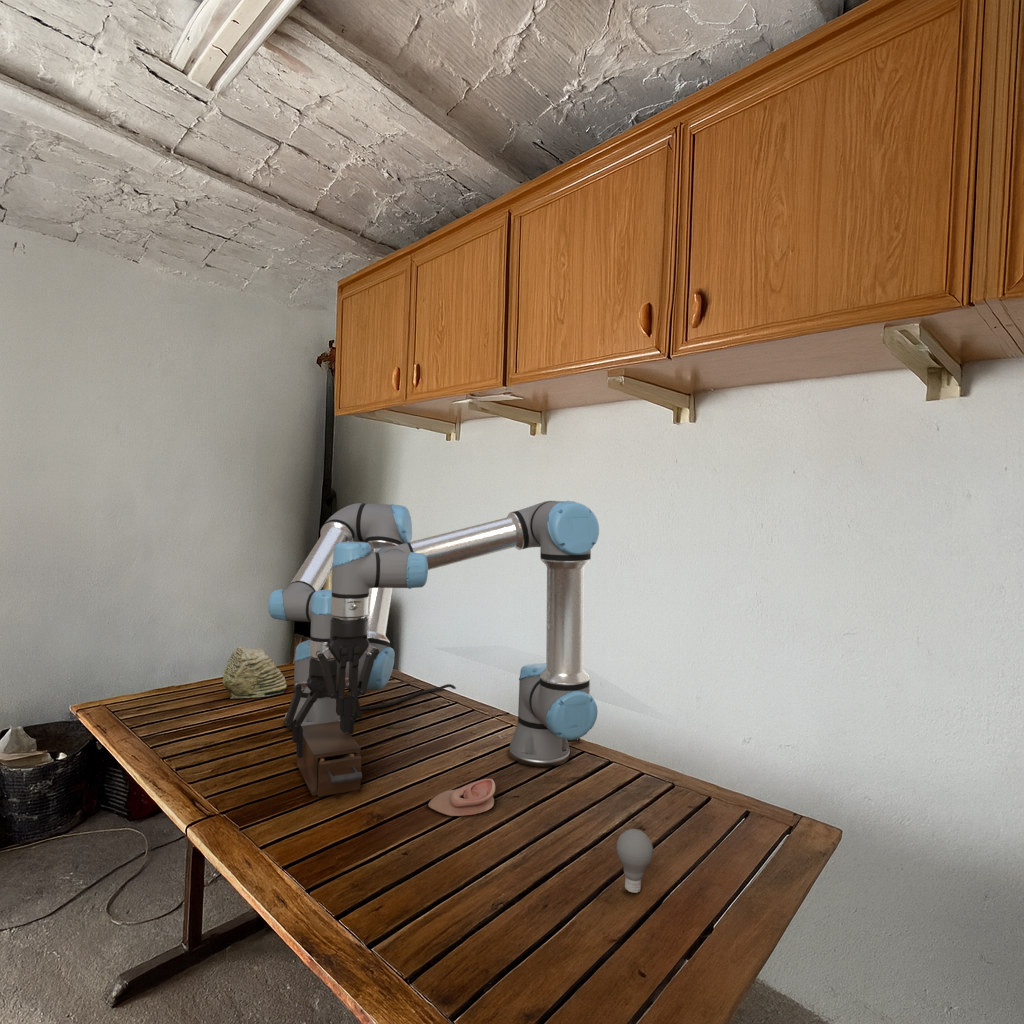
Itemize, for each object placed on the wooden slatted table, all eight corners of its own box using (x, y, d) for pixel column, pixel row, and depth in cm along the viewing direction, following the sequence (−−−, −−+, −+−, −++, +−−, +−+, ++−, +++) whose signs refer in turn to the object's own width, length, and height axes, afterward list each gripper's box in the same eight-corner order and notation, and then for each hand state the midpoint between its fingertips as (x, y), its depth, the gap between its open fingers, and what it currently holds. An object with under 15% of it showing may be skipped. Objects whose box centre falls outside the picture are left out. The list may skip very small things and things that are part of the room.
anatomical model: (423, 792, 129) (441, 769, 140) (422, 812, 129) (440, 787, 140) (487, 801, 126) (499, 777, 137) (486, 821, 126) (498, 795, 137)
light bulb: (610, 879, 108) (613, 822, 108) (644, 879, 109) (647, 822, 109) (619, 902, 102) (622, 840, 102) (655, 901, 103) (658, 840, 103)
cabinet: (359, 787, 139) (360, 747, 139) (312, 796, 134) (313, 754, 134) (338, 756, 154) (340, 720, 154) (296, 763, 150) (297, 726, 149)
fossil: (218, 695, 195) (220, 647, 195) (278, 685, 208) (279, 640, 207) (228, 703, 189) (230, 653, 188) (289, 692, 201) (290, 645, 201)
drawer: (367, 800, 131) (368, 767, 131) (324, 808, 127) (325, 774, 127) (340, 759, 150) (341, 731, 150) (302, 765, 146) (303, 736, 146)
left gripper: (278, 665, 139) (274, 766, 139) (378, 656, 150) (374, 750, 150) (272, 657, 145) (269, 753, 146) (369, 649, 156) (365, 739, 157)
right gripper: (321, 621, 125) (316, 740, 125) (385, 618, 131) (381, 731, 131) (313, 614, 131) (309, 727, 132) (374, 611, 137) (370, 719, 138)
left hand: (322, 751), depth 148 cm, fingers closed on cabinet, 10 cm apart
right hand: (345, 729), depth 131 cm, fingers closed
